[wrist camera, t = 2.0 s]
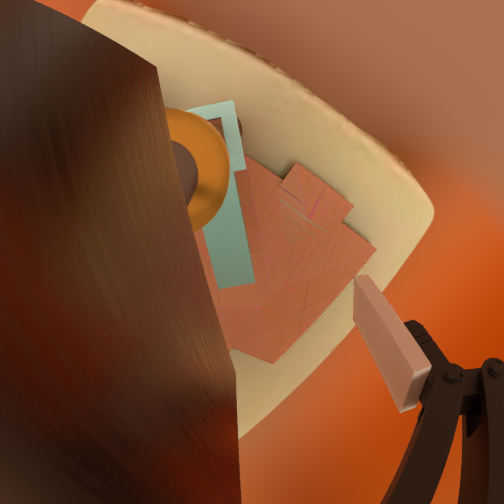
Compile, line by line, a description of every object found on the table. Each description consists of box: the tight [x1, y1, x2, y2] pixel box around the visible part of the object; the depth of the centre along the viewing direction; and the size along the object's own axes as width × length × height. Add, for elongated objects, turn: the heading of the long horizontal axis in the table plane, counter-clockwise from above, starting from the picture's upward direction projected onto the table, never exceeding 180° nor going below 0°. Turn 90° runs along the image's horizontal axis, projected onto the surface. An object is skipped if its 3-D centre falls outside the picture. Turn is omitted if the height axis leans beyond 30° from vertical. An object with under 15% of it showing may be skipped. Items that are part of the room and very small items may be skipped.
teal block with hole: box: [184, 100, 255, 289], centre depth 23 cm, size 14×5×5 cm, turn 10°
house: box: [194, 154, 377, 364], centre depth 41 cm, size 23×33×8 cm
